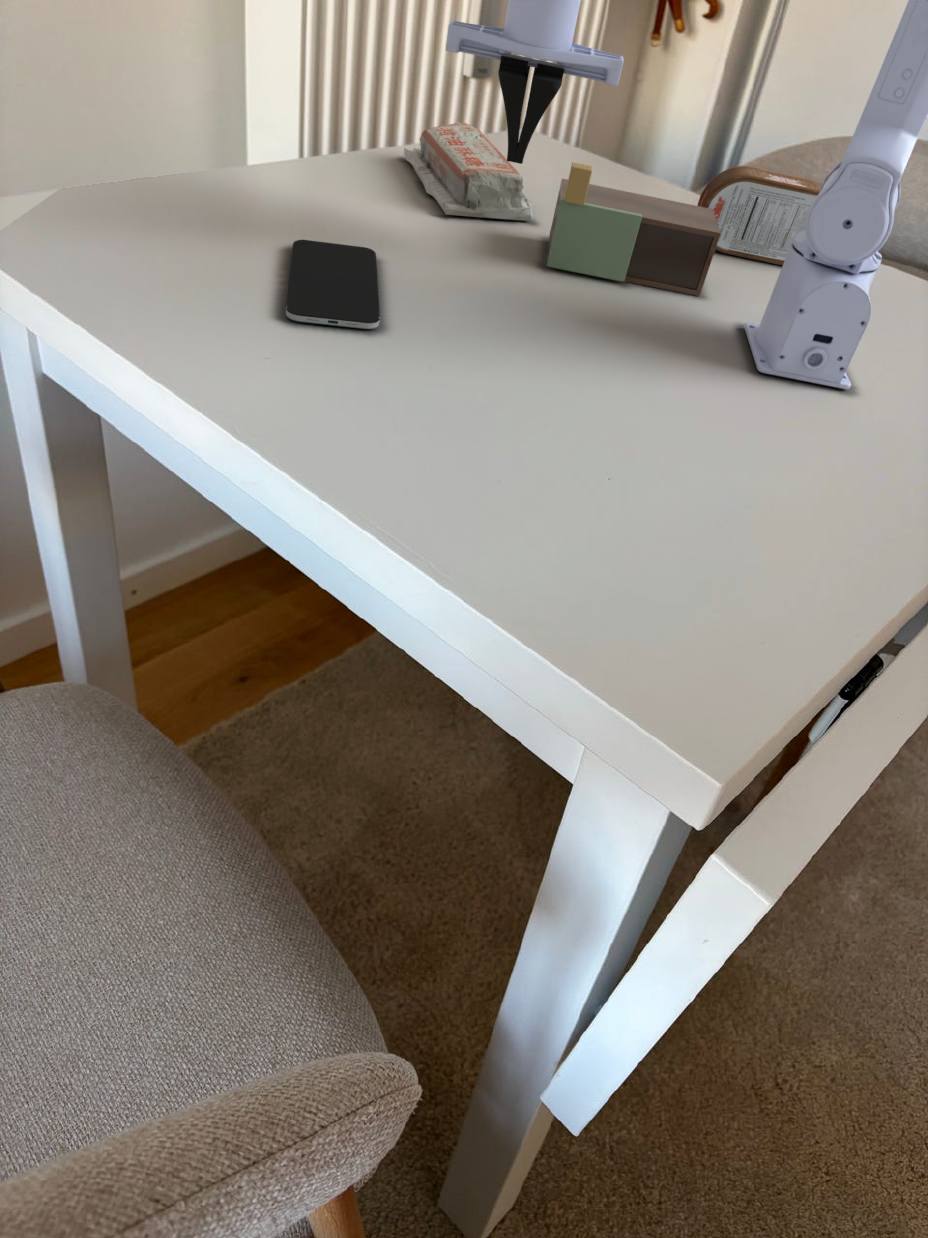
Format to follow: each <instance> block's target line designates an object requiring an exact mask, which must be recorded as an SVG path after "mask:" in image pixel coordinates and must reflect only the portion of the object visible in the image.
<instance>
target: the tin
mask: <svg viewBox="0 0 928 1238" xmlns="http://www.w3.org/2000/svg"><path fill="white" fill-rule="evenodd" d="M822 183H823V182H822V181H818V180H814V179H809V178H805V177H800V176H795V175H791V174H787V173H786V174H785V173H782V172H777V171H773V170H769V169H765V168H760V167H756V166H751V165H750V166H749V165H738V166H733V167H730V168H728V169H725V170H723V171H721V172H720V173H718V174H716V175H715V176H714V177H713V178H712V179H710V181H709V182H708V183H707V184H706V186H705V187H704V188H703V189H702V191H701V194H700V196H699V199H698V202H697V205H696V206H700V207H705V208H710V209H713V211H714V214H715V217H716V220H717V223H718V226H719V230H720V233H721V234H720V237H719V240H718V243H717V246H716V249H715V251H718V252H719V253H723V254H727V255H731V256H736V257H741V258H746V259H749V260H751V259H752V260H754V261H755V260H756V261H760V262H765V263H769V264H775V265H778V266H783V264H784V261H785V258H786V256H787V253H788V251H789V248H790V246H791V243H792V240H793V238H794V235H795V234H797V233H799V232H801V231H804V230H805V219H806V215H807V212H808V210H809V207H810V205H811V204H812V202H813V200H814V199H815V198H816V197H817V195H818V194H819V191H820V188H821V186H822Z"/></svg>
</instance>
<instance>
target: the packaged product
mask: <svg viewBox="0 0 928 1238" xmlns="http://www.w3.org/2000/svg"><path fill="white" fill-rule="evenodd" d="M419 143H420V144H419V146H420V148H416V147H415V148H413V149H412V150H410V149H407V148H406V147H403V148H404V156H403V157H404V159H405V160H406V161H407V162H408V163H409V164H410V165H411V166H412V168H413V169H414V171H415V173H416V175H417V176H418V178H419V179H420V181H421V183H422V185H423V187H424V190H425V192H426V194H428V195H430V196H432V197H433V198H434V199H435V201H436V202H437V203H438V205H439V206H440V207H441V209H442V211H443V212H444V214H445V215H446V216H460V217H473V218H484V219H498V220H510V221H511V220H512V221H525V222H532V221H533V218H534V216H535V215H534V214H535V210H536V206H535V205H533V204H532V202H531V201H530V200H529V198H527V196H526V195H525V194H524V193H523V189H524V185H523V182H524V179H523V175H521V174H520V173H519V172H518V169H516V168H515V167H514V166H513V164H511V162H510V161H507V158H506V157H505V156H504V155H503V154H502V153H501V152H500V151H499V150H498V148H497V147H496V146H495V145H494V144H493V143H492V142H491V141H490V140H489V139H488V137H486V136H485V134H483V133H482V131H481V130H480V128H477V127H475V126H473V125H470V124H469V123H467V122H454V123H449V124H443V125H438V126H433V127H429V128H426V129H424V130H423V131H422V132H421V135H420V137H419Z"/></svg>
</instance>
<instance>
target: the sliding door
mask: <svg viewBox="0 0 928 1238" xmlns="http://www.w3.org/2000/svg"><path fill="white" fill-rule="evenodd" d="M570 166H571V167H570V171H569V175H568V178H567V180H568V184H567V188H566V193H565V199H564V198H561V201H560V206H559V210H558V215H557V219H556V224H555V228H554V233H553V237H552V242H551V247H550V251H549V256H548V260H547V259H546V262H547V266H546V267H548V268H552V269H558V270H562V271H563V270H564V271H567V272H573V273H578V274H584V275H587V276H592V277H598V278H602V279H608V280H612V281H618V282H622V283H624V282H625V281H624V280H625V277H626V273H627V270H628V266H629V262H630V259H631V255H632V252H633V248H634V244H635V241H636V237H637V234H638V230H639V226H640V223H641V219H642V214H638V213H633V212H628V211H623V210H618V209H613V208H608V207H603V206H598V205H593V204H588V203H585V199H586V195H587V190H588V186H589V184H590V181H591V177H592V173H593V166H592V165H588V164H582V163H577V162H573V161H572V162H571V165H570Z"/></svg>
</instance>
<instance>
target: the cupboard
mask: <svg viewBox="0 0 928 1238" xmlns="http://www.w3.org/2000/svg"><path fill="white" fill-rule="evenodd" d="M567 184H568V178H561V180H560V186H559V189H558V195H557V199H556V203H555V208H554V213H553V217H552V222H551V227H550V230H549V236H548V242H547V250H546V251H547V252H546V263H545V266H546V267H547V260H548V256H549V251H550V247H551V242H552V237H553V233H554V228H555V224H556V219H557V215H558V210H559V206H560V201H561V198H564V199H565V193H566V188H567ZM585 203H588V204H593V205H598V206H603V207H608V208H613V209H618V210H623V211H628V212H633V213H638V214H642V219H641V223H640V226H639V230H638V234H637V237H636V241H635V244H634V248H633V252H632V255H631V259H630V262H629V266H628V270H627V273H626V277H625V280H624V282H626V283H631V284H636V285H641V286H647V287H651V288H656V289H661V290H665V291H666V290H667V291H671V292H675V293H676V292H677V293H681V294H686V295H690V296H696V297H700V296H701V293H702V290H703V288H704V285H705V282H706V278H707V276H708V273H709V270H710V267H711V264H712V261H713V258H714V255H715V253H716V246H717V243H718V240H719V237H720V234H721V233H720V230H719V226H718V223H717V220H716V217H715V214H714V211H713V209H710V208H705V207H700V206H697V205H694V204H690V203H684V202H680V201H676V200H675V201H674V200H670V199H665V198H660V197H655V196H650V195H646V194H640V193H635V192H632V191H631V192H630V191H625V190H621V189H616V188H612V187H605V186H601V185H597V184H591V183H589V186H588V190H587V195H586V199H585Z"/></svg>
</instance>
